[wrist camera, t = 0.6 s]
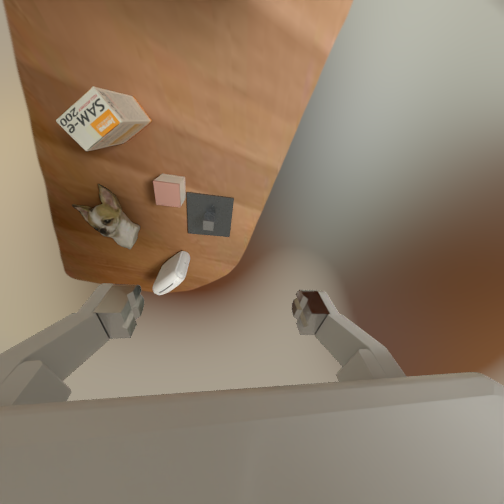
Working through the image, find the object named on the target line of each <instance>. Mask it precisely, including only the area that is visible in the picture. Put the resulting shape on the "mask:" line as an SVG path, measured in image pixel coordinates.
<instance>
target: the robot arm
mask: <svg viewBox="0 0 504 504" xmlns="http://www.w3.org/2000/svg"><path fill="white" fill-rule="evenodd" d="M140 292H141V287H140V286H139V285H128V284H106V283H103V284H101V285H99V286H98V288H97V289H96V290H95V291H94V292H93V294H92V295H91V296H90V298H89V299H88V300H87V301H86V302H85V304H84V305H83V306H82V307H81V309H80V310H79V311H78V312H77V313H72V314H71V315H69V316H67V317H65V318H63V319H62V320H60V321H58V322H56V323H55V324H53V325H51V326H49V327H47V328H46V329H44V330H42V331H40V332H38V333H37V334H35V335H33V336H31V337H30V338H28V339H26V340H25V341H22V342H21V343H19V344H17V345H15V346H14V347H12V348H10V349H8V350H7V351H5V352H3V353H1V354H0V504H504V386H503V385H501V384H499V383H498V382H496V381H494V380H493V379H491V378H489V377H487V376H486V375H483V374H480V373H476V372H467V373H453V374H439V375H425V376H411V377H406V375H405V374H404V373H403V371H402V370H401V368H400V367H399V365H398V364H397V363H396V361H395V360H394V358H393V357H392V356H391V354H390V353H389V351H388V350H387V349H386V347H384V346H383V345H382V344H380V343H379V342H378V341H376V340H375V339H374V338H372V337H371V336H370V335H368V334H367V333H366V332H365V331H363V330H362V329H360V328H359V327H358V326H356V325H355V324H354V323H353V322H351V321H350V320H349V319H347V318H346V317H345V316H343V315H340V314H339V313H338V311H337V310H336V308H335V306H334V304H333V303H332V301H331V299H330V298H329V296H328V294H327V293H326V292H325V291H322V290H321V291H320V290H299V291H297V293H296V296H297V298H296V299H294V300H293V303H292V312H293V316H294V317H295V318H296V319H297V323H296V324H297V327H298V330H299V333H300V335H315V337H316V338H317V339H318V340H319V341H320V342H321V343H322V345H324V347H325V348H326V349H327V350H328V351H329V352H330V353H331V354H332V355H333V357H334V358H335V359H336V360H337V361H338V362H339V363H340V365H342V368H341V369H340V370H339V371H338V372H337V375H336V376H337V378H338V380H339V382H328V383H314V384H301V385H286V386H272V387H258V388H244V389H230V390H216V391H202V392H188V393H175V394H161V395H147V396H134V397H119V398H106V399H92V400H79V401H67V399H68V397H69V396H70V394H71V389H70V388H69V387H68V386H67V385H66V384H65V383H64V382H63V380H64V379H65V378H67V377H68V376H69V375H70V374H71V373H72V372H74V371H75V370H76V369H77V368H78V367H79V366H80V365H81V364H83V362H85V361H86V360H87V359H88V358H89V357H90V356H91V355H93V354H94V353H95V352H96V351H97V350H98V349H99V348H101V347H102V346H103V345H104V344H105V343H106V342H107V341H109V339H110V338H111V339H113V338H131V336H132V333H133V331H134V329H135V327H136V325H137V324H136V321H135V320H136V319H137V318H139V317H140V316H141V314H142V311H143V307H144V298H143V296H141V295H140Z"/></svg>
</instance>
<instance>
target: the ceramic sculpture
mask: <svg viewBox="0 0 504 504" xmlns="http://www.w3.org/2000/svg"><path fill="white" fill-rule="evenodd" d="M98 186H99V192H100V194H99V196H100V200H101V202H102V204H101V205H98V206H95V207H94V208H91V207H89V206H82V205H75V204H72V206H73V207H74V208H76V209H77V210H78V211H79V212H80V213H81V215H82V216H83V217H84V219H85V220H86V221H87V222H88V223H89V224H90V225H91V226H93V227H94V229H96V230H97V231H99V232H100V233H101V234H102V235H103V236H107V237H112V238H113V239H114V240H115V241H116V243H117V244H118V245H120V246H122V247H126V248H128V249H131V248H132V247H133V245H134V244H135V242H136V240H137V238H138V232H139V230H140V226H139V225H138V224H135V223H133V222H131V221H130V219H129V218H128V217H127V216H126V215H125V214H124V212H123V211H122V208H121V205H120V203H119V200H118V199H117V197H116V196H115V195H114V194H113V193H112V192H111V191H110V190H109V189H107V188H105V187H104V186H102V185H100V184H98Z"/></svg>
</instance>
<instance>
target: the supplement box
mask: <svg viewBox="0 0 504 504" xmlns="http://www.w3.org/2000/svg"><path fill="white" fill-rule="evenodd" d="M56 122H57V123H58V124H59V125H60V126H61V127H62V128H63V129H64V130H65V131H66V132H67V133H68V134H69V135H70V136H71V137H72V138H73V139H74V140H75V141H76V142H77V143H78V144H79V145H80V146H81V147H82V148H83V149H84V150H85V151H91V150H96V149H100V148H105V147H109V146H114V145H118V144H123V143H126V142H127V141H129V140H130V139H131V138H132V137H134V136H135V135H136V134H137V133H139V132H140V131H141V130H142V129H143V128H145V127H146V126H147V125H148V124H150V123H151V122H152V120H151V119H150V118H149V116H148V115H147V114H146V112H145V111H144V110H143V108H142V107H141V106H140V104H139V103H138V101H137V100H136V99H135V97H134V96H130V95H126V94H122V93H117V92H114V91H109V90H105V89H101V88H97V87H92V88H90V89H89V90H88V91H87V92H86V93H85V94H84V95H83V96H82V97H81V98H80V99H79V100H78V101H76V102H75V103H74V104H73V105H72V106H71V107H70V108H69V109H68V110H67V111H66V112H65V113H63V114H62V115H61V116H60V117H59V118H58V119H57V120H56Z"/></svg>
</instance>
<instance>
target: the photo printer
mask: <svg viewBox="0 0 504 504" xmlns="http://www.w3.org/2000/svg"><path fill="white" fill-rule="evenodd" d="M189 262H190V256H189V254H188V253H187V252H185V251H180V252H179V253H177V254H176V255H174V256H173V257H172V258H170V259H169V260H168V261H167V262H165V263H164V264H163V266H162V267H161V269H160V271H159V274H158V276H157V278H156V280H155V283H154V285H153V291H154V293H156V294H157V295H163V294H165V293H168V292H169V291H171V290H173V289H174V288H175V287H177V286H178V285H179V284H180V283H181V282H182V281H183V280H184V279H185V277H186V273H187V269H188V265H189Z"/></svg>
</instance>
